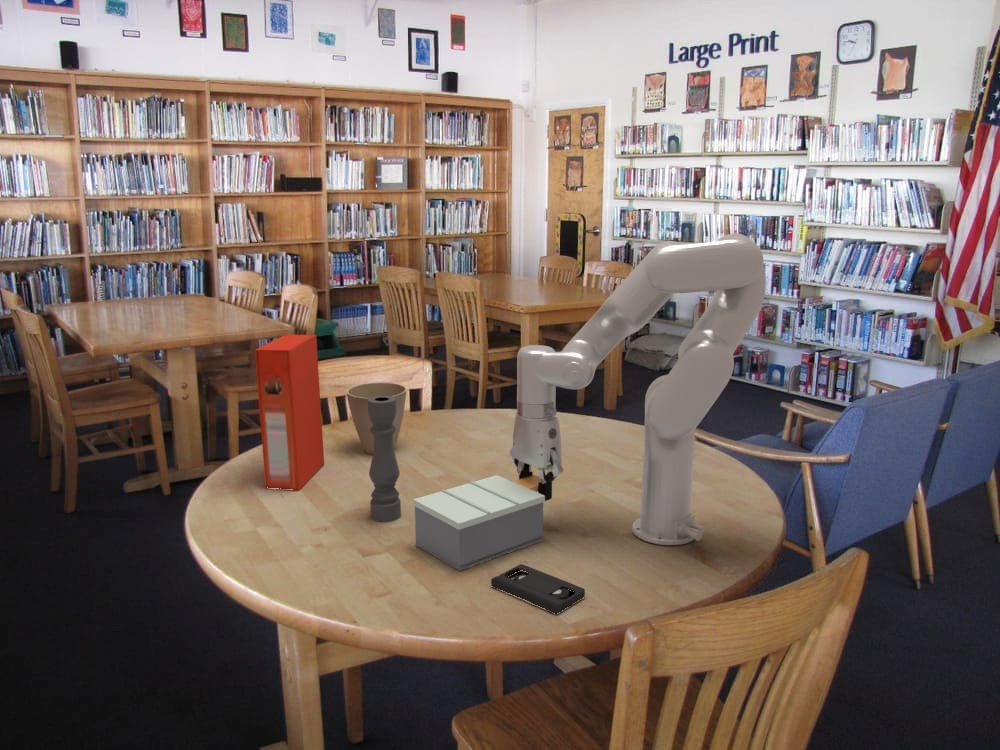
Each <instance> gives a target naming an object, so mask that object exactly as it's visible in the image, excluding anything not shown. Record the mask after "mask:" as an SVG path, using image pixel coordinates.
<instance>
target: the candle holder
mask: <svg viewBox="0 0 1000 750" xmlns="http://www.w3.org/2000/svg"><path fill="white" fill-rule="evenodd" d="M396 414H397V409H396V398H395V397H393V396H374V397H371V398H369V399H368V415H369V417H370V420H371V421H372V424H373V426H372V427H371V428H370V432H371V433H372V434H373V436H374V451H373V454H372V457H371V462H370V467H369V471H368V472H369V473H368V475H369V478H370V480H371V482H372V483H373V486H374V490H373V491H372V493H371V495H370V496H371V500H370V501H369V506H370V508H369V509H370V518H371V519H372V520H373V521H376V522H378V523H381V522H383V523H387V522H393V521H396V520H398V519H400V518H401V516H402V506H401V505H402V504H401V503H402V502H401V499H400V493H399V490H397V488H396V484H397V482H398V479H399V478H400V472H401V471H400V469H399V468H400V467H399V465H398V460H397V458H396V454H395V450H394V449H395V448H394V449H393V434H394V432H395V431H396V427H395V426H394V425H392V423H393V422H394V419H395V415H396Z"/></svg>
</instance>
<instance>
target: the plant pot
mask: <svg viewBox="0 0 1000 750" xmlns="http://www.w3.org/2000/svg"><path fill="white" fill-rule="evenodd" d="M346 396H347V400H348V401H347V402H348V406H349V410H350V415H351V418H352V421H353V425H354V428H355V430H356V434H357V435H358V438H359V440H360V443H361V445H362V448H363V450H364V451H365V453H367V454H369V455H373V451H374V436H373V434H372V433H371V432H370V428H371V427H372V426H373V424H372V421H371V420H370V417H369V415H368V399H369V398H371V397H374V396H393V397H395V398H396V409H397V414H396V415H395V419H394V422H393V423H392V425H394V426H395V427H396V431H395V432H394V434H393V449H395V447H396V444H397V441H398V439H399V435H400V433H401V432H400V431H401V427H402V423H403V418H404V412H405V407H406V398H407V386H405V385H403V384H400V383H394V382H367V383H366V382H365V383H362V384H357V385H354V386H351V387H349V388H347V390H346Z"/></svg>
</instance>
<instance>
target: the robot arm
mask: <svg viewBox="0 0 1000 750" xmlns="http://www.w3.org/2000/svg"><path fill="white" fill-rule="evenodd" d="M766 279H767V278H766V271H765V267H764V255H763V252H762V250H761V248H760V246H758V245H757V243H756V242H755V241H754V240H752V239H751V238H749V237H748V236H747V235H744V234H742V233H741V234H740V233H728V234H726V235H723V236H722V237H720V238H718V240H714V241H706V242H696V243H685V244H684V243H683V244H681V243H679V242H677V241H674V240H673V241H672V240H667V241H662V242H660V243H659V244H656V245H655V246H654V247H653V248H651V250H650V251H649V252H648V253H647V254H646V255H645V257H644V258H642V259H641V261H639V263H638V264H637V265H636V266H635V267H634V268H633V269H632V271H631V272H630V273H629V274H628V275H627V276H626V278H625V279H624V280H623V281H622V282H620V284H619V285H618V286H617V287H616V289H615V290H613V292H612V293H611V294H610V295H609V296H608V297H607V298H606V300H604V302H603V303H602V305H601V306H600V307H599V309H598V310H597V311H596V312H595V313H594V314H593V315H592V316H591V317H590V319H589V320H588V321H587V322H586V323H585V324H584V325H583V326H582V327H581V328H580V330H579V331H577V332H576V334H575V335H574V336H573V337H572V338H571V339H570V340H569V341H568V342H567V344H566V345H565V346H564V347H563V348H562V350H560V351H555V349H554V348H553V347H551V346H547V345H545V344H544V345H542V344H541V345H540V344H529V345H525V346H522V347H520V348H519V350H518V352H517V355H516V356H517V358H516V359H517V360H516V361H517V364H516V372H517V373H516V377H517V378H516V386H517V387H516V412H515V417H514V422H513V423H514V424H513V433H512V447H511V449H510V450H509V455H510V457H511V458H512V460H513V462H514V465H515V467H516V473H517V474H518V480H519V479H523V478H526V477H529V476H533V475H534V474H533V472H534V471H531V469H532V467H534V468H537V470H538V476H539V477H540V481H541V482H540V483H538V492H537V493H540V494H542V495H544V496H545V502H546V501H549V500H551V499H552V498H553V482H554V481H555V479H556V478H557V477H558V476H559V475H561V474H562V473H563V472H564V468H563V465H562V457H563V456H562V454H563V453H562V452H563V451H562V437H561V436H562V435H561V427H560V422H559V417H557V416H556V415H557V413H558V412H557V409H556V399H557V398H556V396H557V395H556V393H557V392H556V390H557V389H556V388H563V389H567V390H581V389H584V388H586V387H588V385H590V383H591V382H592V381H593V379H594V376H595V372H596V369H597V367H598V366H599V365H600V364H601V363H602V362H603V360H604V359H605V358H606V357H607V356H608V355H609V354H610V353H611V352H612V351H613V350H614V349H615V348H616V347H617V346H618V345H619V344H620V343H621V342H622V341H624V339H626V338H627V337H629V336H630V335H633V334H635V333H637V332H639V330H641V329H643V328H644V326H646V324H648V322H649V321H650V320H651V319H653V317H654V316H655V315H656V314H657V312H658V311H660V309H661V308H662V307H663V306H665V304H666V303H667V301H669V299H671V297H673V296H674V295H675V294H689V293H699V292H709V291H710V292H711V291H715V293H714V296H713V297H712V299H711V300H710V302H709V303H708V305H707V307H706V308H705V311H704V312H703V313H702V315H701V316H700V318H699V319H698V321H697V322H696V323H695V325H694V326H693V327H692V329H691V331H689V333H688V334H687V336H686V337H685V338H684V339H683V341H682V342H681V344H680V346H679V348H678V353H677V357H678V359H677V361H676V362H675V363H674V365H673V367H672V368H671V369H670V371H669V372H668V374H665V375H662V376H659V377H657V378H656V379H654V380H653V381H652V382H651V384H650V385H649V387H648V388H647V391H646V393H645V398H644V399H645V400H644V429H643V430H644V434H643V456H642V473H641V475H642V476H641V477H642V478H641V479H642V480H641V497H640V498H641V500H640V501H641V503H640V517H638V518H637V519H635V520H634V521H633V522H632V528H631V530H632V532H633V534H634V535H635V536H636V537H637V538H638V539H641V540H642V541H645V542H648V543H651V544H655V545H661V546H679V545H685V544H689V543H691V542H693V541H694V540H695V541H697V542H698V541H700V540H702V538H703V534H704V533H705V526H702V525H699V524H697V523H696V522H695V519H696V515H695V514H692V513H691V509H692V508H691V505H692V494H693V493H692V489H693V471H694V470H693V469H694V459H695V443H696V442H695V440H696V439H695V437H696V428H697V427H698V426H699V424H700V423H701V422H702V420H703V419H704V417H705V416H706V415H707V414H708V412H709V411H710V409H711V408H712V406H713V405H714V403H715V402H716V401H717V399H719V396H720V395H721V394H722V392H723V391H724V389H725V388H726V386H727V385H728V383H729V381H730V379H731V378H732V375H733V372H734V368H735V359H734V353H735V351H736V350H737V348H738V347H739V345H740V344H741V342H742V341H743V339H744V338H745V336H746V334H747V333H748V331H749V329H750V328H751V326H752V325H753V323H754V322H755V321H756V319H757V317H758V315H759V313H760V311H761V308H762V306H763V304H764V301H765V296H766V290H767V289H766V287H767V286H766V285H767V282H766ZM546 472H547V473H546Z"/></svg>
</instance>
